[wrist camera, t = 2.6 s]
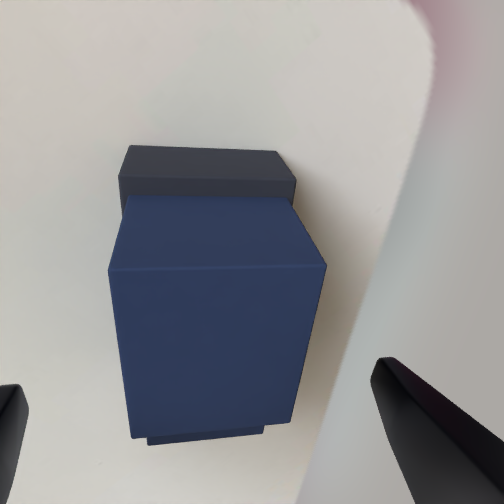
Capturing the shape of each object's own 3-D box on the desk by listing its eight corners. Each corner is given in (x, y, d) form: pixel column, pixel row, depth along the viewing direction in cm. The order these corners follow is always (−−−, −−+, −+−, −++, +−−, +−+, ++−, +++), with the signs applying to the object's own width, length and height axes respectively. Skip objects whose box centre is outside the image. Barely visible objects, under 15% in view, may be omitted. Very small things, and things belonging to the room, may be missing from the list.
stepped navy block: (128, 144, 11) (90, 244, 6) (277, 150, 11) (344, 242, 7) (147, 360, 15) (133, 511, 11) (251, 354, 16) (280, 491, 12)
